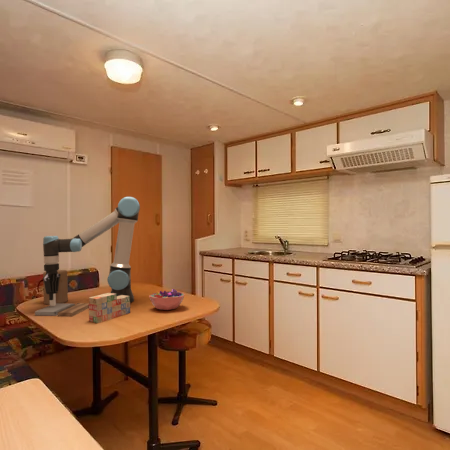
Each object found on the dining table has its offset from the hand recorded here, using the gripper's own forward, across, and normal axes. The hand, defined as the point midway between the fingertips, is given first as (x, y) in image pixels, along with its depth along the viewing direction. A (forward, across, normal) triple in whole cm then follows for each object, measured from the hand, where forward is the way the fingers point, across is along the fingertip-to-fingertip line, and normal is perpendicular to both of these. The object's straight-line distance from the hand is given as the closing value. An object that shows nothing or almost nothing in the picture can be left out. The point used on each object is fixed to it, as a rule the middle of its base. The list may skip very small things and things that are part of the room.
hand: (52, 305), depth 184 cm
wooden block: (+4, -19, -10) cm, 22 cm away
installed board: (+4, 0, +13) cm, 14 cm away
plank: (+3, 0, +2) cm, 4 cm away
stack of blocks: (+4, +9, +38) cm, 39 cm away
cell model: (+4, -7, +64) cm, 64 cm away
